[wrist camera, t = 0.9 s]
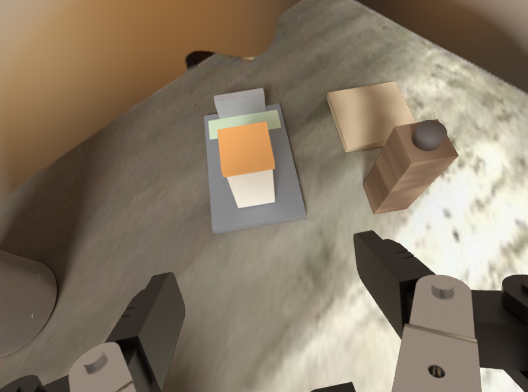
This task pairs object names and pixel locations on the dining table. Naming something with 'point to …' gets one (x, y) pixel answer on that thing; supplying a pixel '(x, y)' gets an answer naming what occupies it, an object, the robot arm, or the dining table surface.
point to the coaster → (368, 114)
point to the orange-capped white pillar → (248, 163)
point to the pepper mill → (408, 165)
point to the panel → (284, 175)
